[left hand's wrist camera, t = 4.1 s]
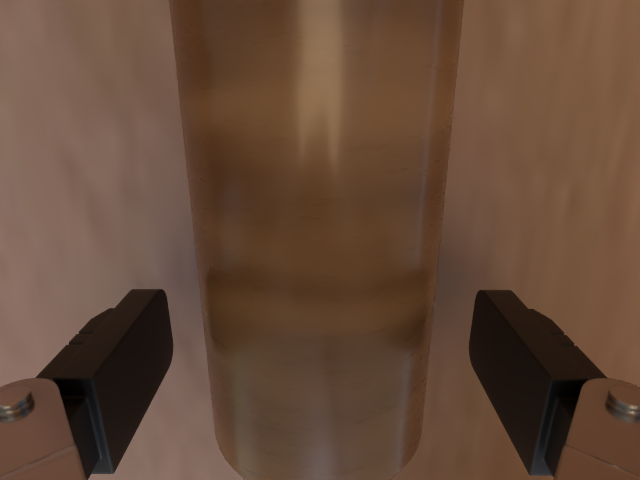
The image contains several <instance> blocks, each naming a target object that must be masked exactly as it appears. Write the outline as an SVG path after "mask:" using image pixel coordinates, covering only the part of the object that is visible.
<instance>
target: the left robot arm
mask: <svg viewBox="0 0 640 480" xmlns="http://www.w3.org/2000/svg"><path fill="white" fill-rule="evenodd" d="M469 355H470V360H471V364H472V367H473V369H474V371H475V373H476V375H477V377H478V378H479V380H480V382H481V384H482V386H483V388H484V390H485V392H486V394H487V396H488V397H489V399H490V401H491V403H492V405H493V407H494V409H495V411H496V413H497V414H498V416H499V418H500V420H501V422H502V424H503V426H504V428H505V430H506V432H507V433H508V435H509V437H510V439H511V441H512V443H513V445H514V447H515V449H516V450H517V452H518V454H519V456H520V458H521V460H522V462H523V464H524V466H525V468H526V469H527V471H528V473H529V475H553V477H554V480H640V387H638V386H636V385H633V384H630V383H627V382H624V381H620V380H616V379H609V378H607V377H606V376H605V375H604V374H603V373H602V372H601V371H600V370H599V369H598V368H597V367H596V366H595V365H594V364H593V362H592V361H591V360H590V359H589V358H588V357H587V356H586V355H585V354H584V353H583V352H582V351H581V350H580V349H579V348H578V347H577V346H574V343H573V342H572V341H571V340H570V338H569V337H568V336H567V335H564V332H563V331H562V330H561V329H560V328H559V327H558V326H557V325H556V324H555V323H554V322H553V321H552V320H551V319H549V318H548V317H546V316H544V315H542V314H541V313H539V312H537V311H535V310H534V309H528V308H527V307H526V306H525V305H524V304H523V303H522V302H521V300H520V299H519V298H518V297H517V296H516V295H515V294H514V293H513V292H512V291H511V290H480V291H478V293H477V295H476V299H475V305H474V312H473V319H472V327H471V334H470V341H469ZM172 356H173V338H172V331H171V324H170V317H169V309H168V302H167V296H166V293H165V292H164V290H162V289H133V290H131V291H130V292H129V293H128V294H127V295H126V296H125V297H124V298H123V299H122V301H121V302H120V303H119V304H118V305H117V306H116V307H115V308H109V309H108V310H106V311H104V312H102V313H101V314H99V315H97V316H96V317H94V318H92V319H91V320H90V321H89V322H88V323H87V324H86V325H85V326H84V327H83V328H82V329H81V330H80V331H79V334H77V335H76V336H75V337H74V338H73V339H72V340H71V341H70V342H69V345H66V346H65V347H64V348H63V349H62V350H61V351H60V352H59V353H58V355H57V356H56V357H55V358H54V359H53V360H52V361H51V362H50V363H49V364H48V365H47V366H46V367H45V368H44V369H43V370H42V371H41V372H40V373H39V375H38V376H37V377H36V378H31V379H24V380H20V381H16V382H13V383H10V384H7V385H4V386H2V387H0V480H88V478H89V477H90V475H91V474H114V472H115V470H116V468H117V467H118V465H119V463H120V461H121V459H122V457H123V455H124V453H125V451H126V449H127V447H128V445H129V444H130V442H131V440H132V438H133V436H134V434H135V432H136V430H137V428H138V426H139V424H140V422H141V421H142V419H143V417H144V415H145V413H146V411H147V409H148V407H149V405H150V403H151V401H152V399H153V397H154V396H155V394H156V392H157V390H158V388H159V386H160V384H161V382H162V380H163V378H164V376H165V374H166V373H167V371H168V369H169V367H170V364H171V361H172Z"/></svg>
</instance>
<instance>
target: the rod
mask: <svg viewBox="0 0 640 480" xmlns="http://www.w3.org/2000/svg"><path fill="white" fill-rule="evenodd" d="M169 3H170V13H171V22H172V32H173V41H174V50H175V60H176V69H177V79H178V88H179V97H180V107H181V116H182V126H183V135H184V145H185V154H186V163H187V173H188V182H189V192H190V201H191V210H192V220H193V229H194V239H195V248H196V257H197V267H198V276H199V286H200V295H201V304H202V314H203V323H204V333H205V342H206V352H207V361H208V370H209V380H210V389H211V399H212V408H213V417H214V427H215V434H216V440H217V443H218V445H219V448H220V450H221V452H222V454H223V456H224V457H225V459H226V460H227V462H228V463H229V464H230V465H231V466H232V468H233V469H234V470H235V471H236V472H237V473H239V474H240V475H241V476H242V477H243V478H244V479H246V480H390V479H392V478H393V477H394V476H395V475H396V474H397V473H399V472H400V471H401V470H402V469H403V468H404V467H405V465H406V464H407V463H408V462H409V461H410V459H411V458H412V456H413V454H414V453H415V451H416V449H417V446H418V444H419V441H420V437H421V431H422V423H423V413H424V402H425V392H426V382H427V372H428V362H429V351H430V341H431V331H432V321H433V310H434V300H435V290H436V280H437V270H438V259H439V249H440V239H441V229H442V219H443V208H444V198H445V188H446V178H447V167H448V157H449V147H450V137H451V127H452V116H453V106H454V96H455V86H456V75H457V65H458V55H459V45H460V35H461V24H462V14H463V4H464V0H169Z"/></svg>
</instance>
